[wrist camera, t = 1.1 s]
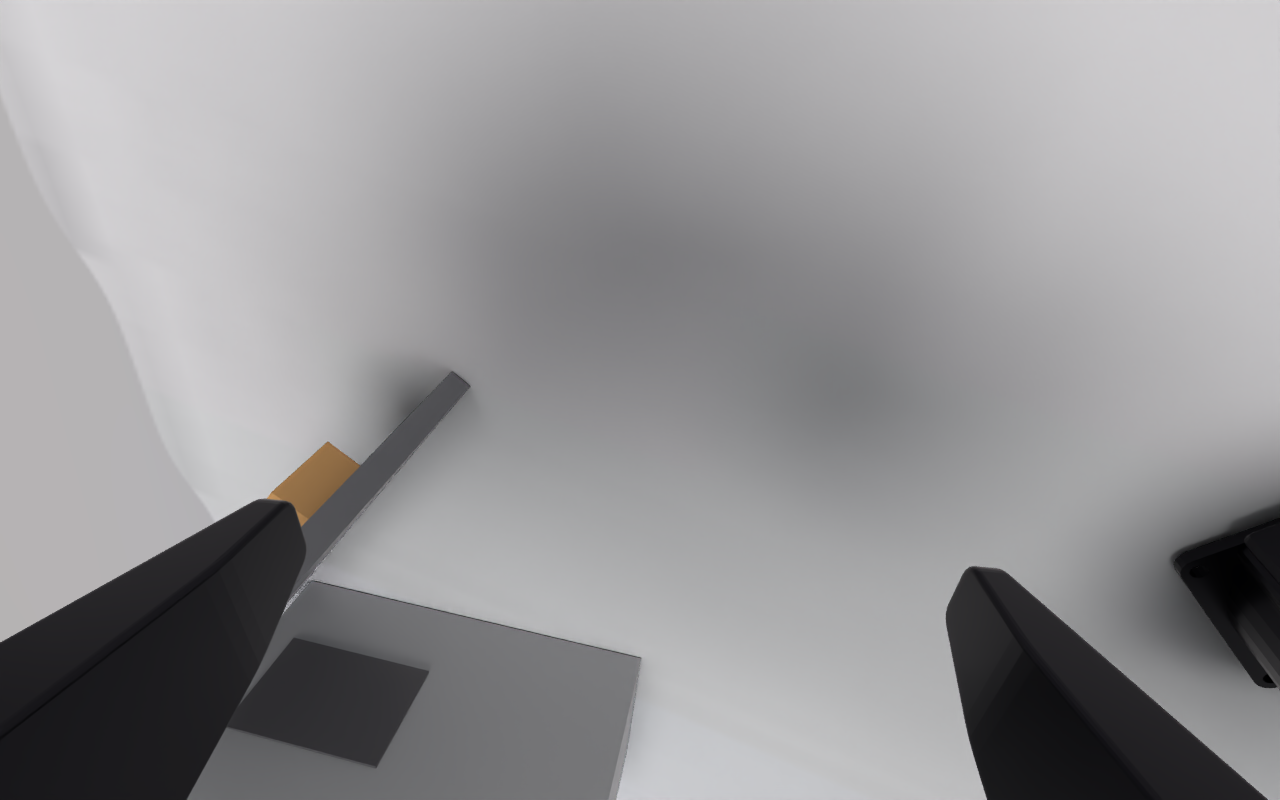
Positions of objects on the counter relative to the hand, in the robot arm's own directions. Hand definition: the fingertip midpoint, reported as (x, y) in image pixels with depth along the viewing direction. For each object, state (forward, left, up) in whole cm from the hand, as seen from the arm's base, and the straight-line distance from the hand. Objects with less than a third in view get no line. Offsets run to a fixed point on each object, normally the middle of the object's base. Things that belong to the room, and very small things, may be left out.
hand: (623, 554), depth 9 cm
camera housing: (-8, +21, -12) cm, 26 cm away
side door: (+2, +17, -12) cm, 21 cm away
